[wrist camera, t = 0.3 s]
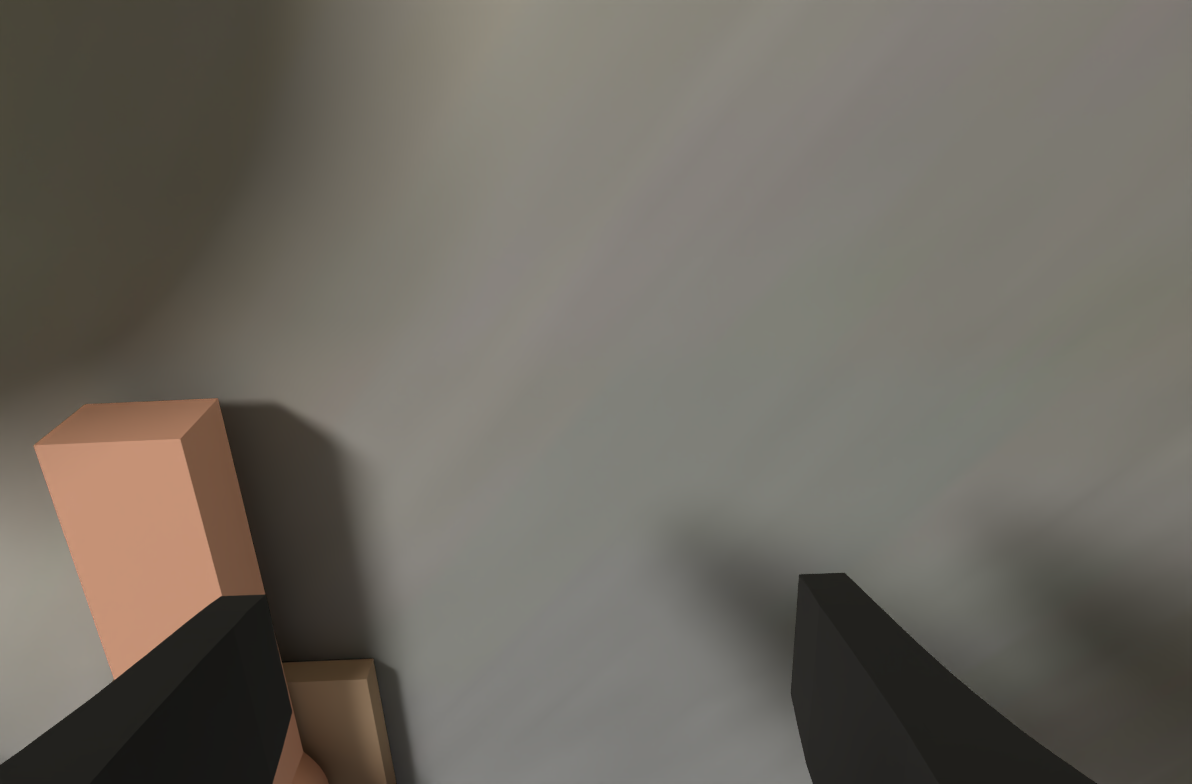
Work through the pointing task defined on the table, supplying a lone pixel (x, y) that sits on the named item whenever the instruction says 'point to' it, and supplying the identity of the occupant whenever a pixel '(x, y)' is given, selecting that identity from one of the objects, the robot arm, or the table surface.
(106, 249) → the table surface
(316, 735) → the pintle plate
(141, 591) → the link
